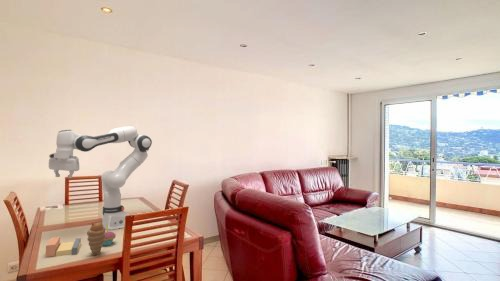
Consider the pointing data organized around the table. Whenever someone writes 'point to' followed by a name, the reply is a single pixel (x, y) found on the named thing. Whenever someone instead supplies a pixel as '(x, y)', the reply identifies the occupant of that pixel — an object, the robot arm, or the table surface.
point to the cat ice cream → (96, 237)
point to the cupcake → (108, 237)
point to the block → (52, 246)
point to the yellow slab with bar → (69, 248)
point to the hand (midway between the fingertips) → (63, 177)
